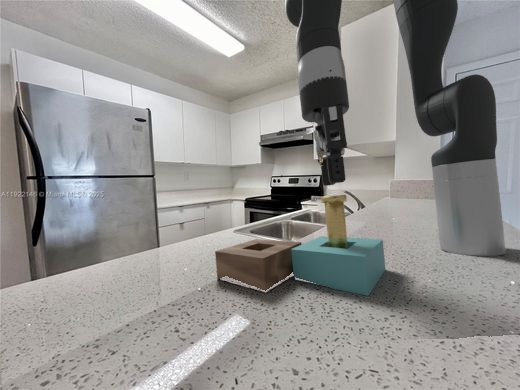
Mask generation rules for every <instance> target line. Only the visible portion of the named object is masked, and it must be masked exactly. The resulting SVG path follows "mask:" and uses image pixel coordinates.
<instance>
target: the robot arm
mask: <svg viewBox="0 0 520 390" xmlns="http://www.w3.org/2000/svg"><path fill="white" fill-rule="evenodd" d="M284 2H285V3H284V10H285V14H286V17H287V19H288V21H289V22H290V24H292V26H294V27H297V31H296V35H295V49H296V51H295V52H296V59H297V82H298V83H297V84H298V93H299V100H300V111H301V117H302V118H301V119H303V120H304V121H305V122H308V123H312V124H313V123H315V124H316V125H315V126H314V130H313V137H314V140H315V153H316V155H317V163H318V164H319V166H320V170H321V178H322V179H321V180H322V185H323V186H325V187H327V186H334V185H336V184H341V183H344V182H346V171H345V163H344V156H345V153H346V150H345V149H346V148H347V146H348V142H347V138H346V137H347V136H346V129H345V122H344V115H345V114H346V113H347V112H348V111H349V109H350V103H349V93H348V85H347V84H348V82H347V76H346V67H345V63H344V62H345V61H344V60H343V55H342V48H341V47H342V46H341V38H340V31H339V25H340V19H341V18H340V17H341V12H342V3H343V0H285V1H284ZM392 3H393V6H394V11H395V17H396V21H397V24H398V25H397V26H398V30H399V33H400V36H401V40H402V43H403V46H404V51H405V55H406V60H407V64H408V70H409V74H410V82H411V89H412V90H411V91H412V98H413V105H414V112H415V117H416V121H417V123H418V125H419V127H420V129H421V131H422V132H423V133H425V134H426V135H427V136H430V137H438V136H442V135H443V136H444V135H446V134H450V133H453V132H454V135H453V137H452V138H451V139H450V141H449V142H448V143H447V144H445V145H444V146H442V147H441V148H440V149H438V150H436V151H435V152H433V154H431V157H430V159H431V160H430V161H431V170H432V180H433V191H434V198H435V199H434V200H435V201H434V202H435V209H436V217H437V218H436V220H437V228H438V231H437V232H438V239H439V248H440V249H441V250H442V251H444V252H448V253H451V254H452V253H453V254H458V255H464V256H465V255H466V256H477V257H495V256H502V255H505V254H506V252H507V250H506V249H507V248H506V241H505V232H504V230H505V229H504V221H503V214H502V204H501V197H500V196H501V195H500V186H499V176H498V168H497V160H496V159H497V158H496V149H497V144H498V133H497V132H498V131H497V101H496V94H495V90H494V87H493V85H492V83H491V82H490V81H489V80H488V78H486V76H484V75H481V74H478V73H477V74H469V75H467V76H464V77H463V78H459V79H458V80H456V81H454V82H452V83H450V84H448V85H446V86H444V85H443V75H442V74H443V73H442V68H443V62H444V55H445V54H446V53H445V52H446V50H447V46H448V45H449V42H450V38H451V37H452V33H453V30H454V27H455V23H456V20H457V16H458V10H459V7H458V6H459V4H458V0H392Z"/></svg>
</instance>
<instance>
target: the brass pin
mask: <svg viewBox="0 0 520 390" xmlns="http://www.w3.org/2000/svg"><path fill="white" fill-rule="evenodd" d="M347 201H348V198H347V194H339V195H327V196H320V204H324V212H325V223H326V235H327V236H326V237H328V247H333V248H345V249H348V243H347V238H348V236H347V234H348V232H347V223H346V213H345V211H346V210H345V202H347Z"/></svg>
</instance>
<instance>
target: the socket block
mask: <svg viewBox="0 0 520 390" xmlns="http://www.w3.org/2000/svg"><path fill="white" fill-rule="evenodd" d="M347 243H348V249H345V248H333V247H328V236H322V235H321V236H318V237H316V238H314V239H312V240H310V241H309V240H308V241H307V242H305V243H303V244H302V243H301V244H302V245H300V246H298V247H295V248H293V249H291V251H292V262H293V274H294V276H293V278H294V277H296V278H299V279H303V280H306V281H310V282H313V283H316V284H319V285H323V286H327V287H326V288H328V287H330V288H329V289H333V290H339V291H344V292H347V293H353V294H358V295H363V296H367V297H368V296H369V295H370V294H371V293H372V291H373V290H374V288H375V287H376V285H377V283H378V281H380V279H381V277H382V276H383V275H384V273H385V272H386V269H387V268H386V261H385V260H386V259H385V252H384V251H385V248H384V239H377V238H362V237H361V238H357V237H347ZM319 285H318V286H319ZM323 286H322V287H323Z"/></svg>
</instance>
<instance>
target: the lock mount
mask: <svg viewBox="0 0 520 390" xmlns="http://www.w3.org/2000/svg"><path fill="white" fill-rule="evenodd" d="M300 245H302V242H301V241H290V240H289V241H287V240H286V241H285V240H278V239H277V240H275V239H274V240H273V239H260V238H255V239H251V240H248V241H245V242H242V243H239V244H235V245H232V246H228V247H225V248H222V249H219V250H215V252H214V253H215V255H214V256H215V266H216V268H215V269H216V279H217V280H218V279H220V278H222V277H225V276H228V277H229V278H233V279H235V280H238V281H241V282H243V283H246V284H248V285H251V286H255V287H257V288H260V289H262V290H265V291H266V290H267V289H269V288H270V287H272V286H273V285H274V284H276V283H278V282H279V281H281V280H283V279H285V278H286V277H287V276H289V275H290V274H291V273H292V272H293V262H292V251H291V249H293V248H295V247H298V246H300ZM218 281H219V280H218Z"/></svg>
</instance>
